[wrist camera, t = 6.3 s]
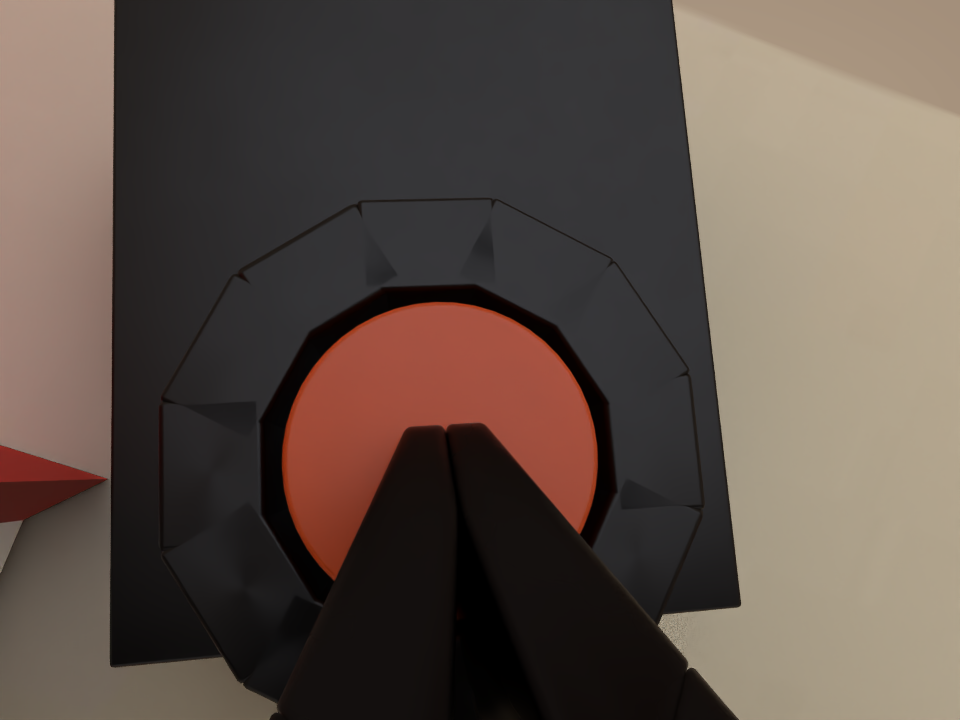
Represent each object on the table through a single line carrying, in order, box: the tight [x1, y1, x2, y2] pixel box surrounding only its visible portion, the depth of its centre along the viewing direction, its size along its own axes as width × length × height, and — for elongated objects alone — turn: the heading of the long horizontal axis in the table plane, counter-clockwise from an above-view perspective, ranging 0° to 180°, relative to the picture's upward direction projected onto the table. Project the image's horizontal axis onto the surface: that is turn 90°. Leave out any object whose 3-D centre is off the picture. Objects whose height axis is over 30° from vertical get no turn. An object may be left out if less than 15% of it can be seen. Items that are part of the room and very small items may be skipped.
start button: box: [282, 302, 598, 581], centre depth 9 cm, size 4×4×2 cm
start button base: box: [110, 0, 741, 720], centre depth 12 cm, size 11×9×7 cm
